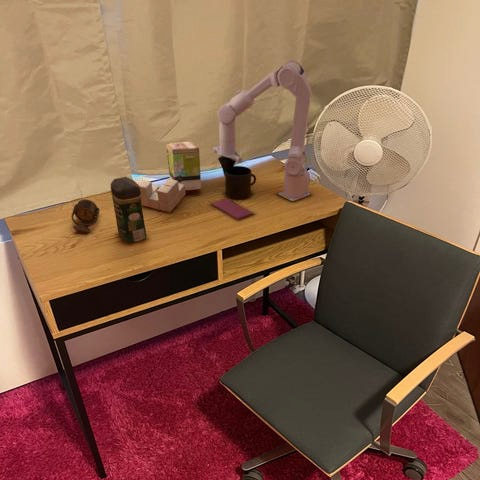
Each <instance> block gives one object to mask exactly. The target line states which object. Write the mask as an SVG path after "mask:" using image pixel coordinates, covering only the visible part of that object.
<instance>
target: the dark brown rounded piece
mask: <svg viewBox="0 0 480 480" xmlns="http://www.w3.org/2000/svg"><path fill="white" fill-rule="evenodd" d="M100 211H101V210H100V208H99V207H98V206H97V204H96V203H95V201H92V200H91V199H87V198H84V199H80V200H78V202H77V203H75V204H74V207H73V210H72V213H71V220H72V222H73V224H74V225H73V227H72V229H73V230H74V231H76V232H77V233H80V234H86V233H90V231H91V227H93V226H95V225H96V224H97V222H98V219H99V216H100ZM74 216H75V217H76V219H77V220H78V221H80V222H82V223H79V222H77V220H75V219H74ZM85 223H87V224H85Z"/></svg>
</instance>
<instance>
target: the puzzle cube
mask: <svg viewBox="0 0 480 480" xmlns="http://www.w3.org/2000/svg"><path fill="white" fill-rule="evenodd" d="M137 184H138V185H139V187H140V191H141V203H142V207H148V208H151V209H154V210H160V211H163V212H167V213H171V212H172V211H173V209H174V208H175V207H177V205H178V204H179V203H180V201H181V200H182V199H183V198H184V197H185V196H186V194H187V193H186V190H185V185H183V184H179V183H178V181H176V180H172V179H170V178H167V179H166V180H165V182H164V183H163V184H161V186H159V185H157V184H153V183H152V181H149V180H145V179H141V180H140V181H139V182H138V183H137Z"/></svg>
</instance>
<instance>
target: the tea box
mask: <svg viewBox="0 0 480 480" xmlns="http://www.w3.org/2000/svg"><path fill="white" fill-rule="evenodd" d="M169 143H170V144H167V143H166V154H167V153H168V155H167V165H169V166H168V178H169V179H172V180H176V181H178V183H179V184H183V185H185V191H193V190H201V189H202V177H201V176H202V175H201V174H202V173H201V159H200V157H201V155H200V147H199V146H198V145H197V144H195V143H194V142H192V141H181V142H180V141H179V142H169Z"/></svg>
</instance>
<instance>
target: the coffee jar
mask: <svg viewBox="0 0 480 480" xmlns="http://www.w3.org/2000/svg"><path fill="white" fill-rule="evenodd" d="M110 194H111V199H112V203H113V209H114V216H115V221H116V228H117V234H118V236H119V237H120V239H121V240H122V241H123V242H124V243H126V244H136V243H140V242H142V241H144V240H145V239H146V238H147V231H146V223H145V217H144V210H143V205H142V203H141V191H140V187H139V185H138V183H137V181H135V180H134V179H132V178H130V177H127V176H122V177H116V178H114V179H113V180H112V181H111V183H110Z"/></svg>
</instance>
